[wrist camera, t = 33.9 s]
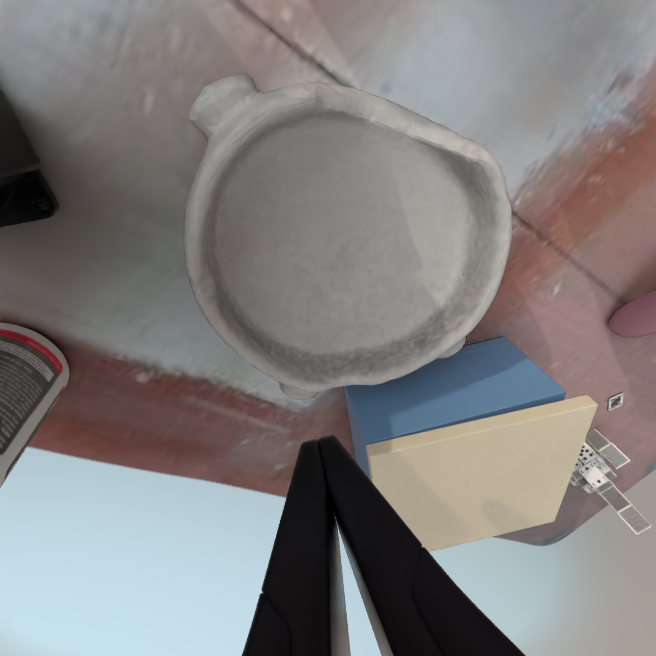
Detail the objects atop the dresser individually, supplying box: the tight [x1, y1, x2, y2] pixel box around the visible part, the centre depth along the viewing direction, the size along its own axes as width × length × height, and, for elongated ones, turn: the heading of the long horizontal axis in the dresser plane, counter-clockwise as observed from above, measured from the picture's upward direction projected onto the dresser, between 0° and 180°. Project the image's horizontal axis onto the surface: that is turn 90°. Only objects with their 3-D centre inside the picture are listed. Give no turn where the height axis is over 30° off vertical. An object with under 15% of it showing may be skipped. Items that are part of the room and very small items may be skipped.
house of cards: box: [570, 393, 652, 535], centre depth 30 cm, size 9×9×8 cm
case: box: [344, 337, 566, 480], centre depth 25 cm, size 12×12×6 cm
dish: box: [184, 74, 512, 399], centre depth 17 cm, size 14×14×5 cm
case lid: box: [366, 395, 598, 552], centre depth 22 cm, size 12×12×1 cm
